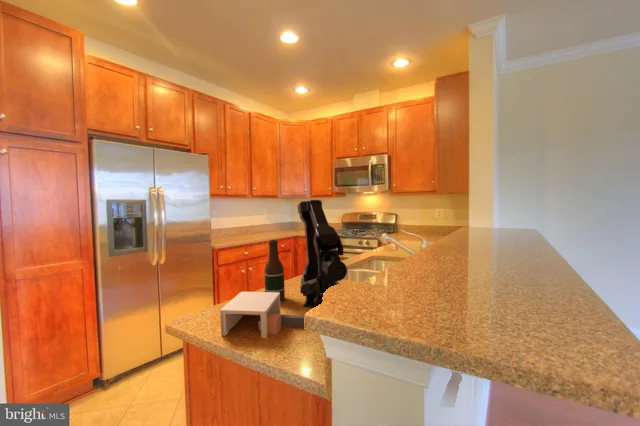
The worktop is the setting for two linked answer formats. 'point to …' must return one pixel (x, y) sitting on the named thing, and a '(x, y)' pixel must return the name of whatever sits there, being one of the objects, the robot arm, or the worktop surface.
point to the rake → (289, 321)
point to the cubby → (250, 309)
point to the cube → (274, 323)
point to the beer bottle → (274, 271)
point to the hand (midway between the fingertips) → (328, 320)
